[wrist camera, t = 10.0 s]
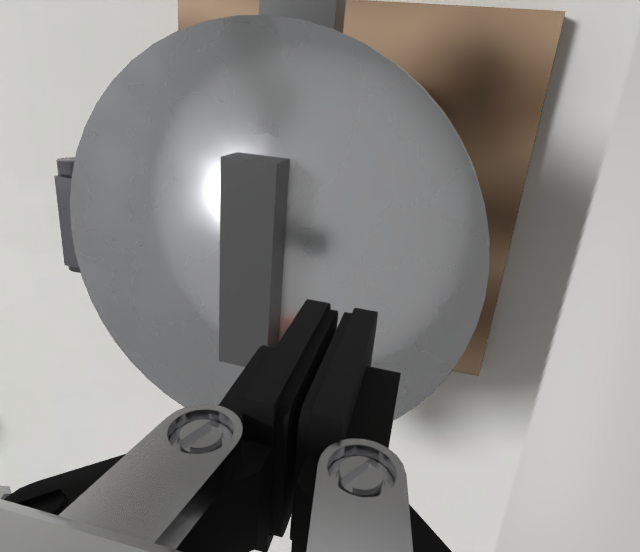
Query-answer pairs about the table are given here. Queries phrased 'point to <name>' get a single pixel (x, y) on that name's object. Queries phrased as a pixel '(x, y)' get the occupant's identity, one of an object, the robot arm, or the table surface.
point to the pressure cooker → (451, 90)
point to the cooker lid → (273, 205)
